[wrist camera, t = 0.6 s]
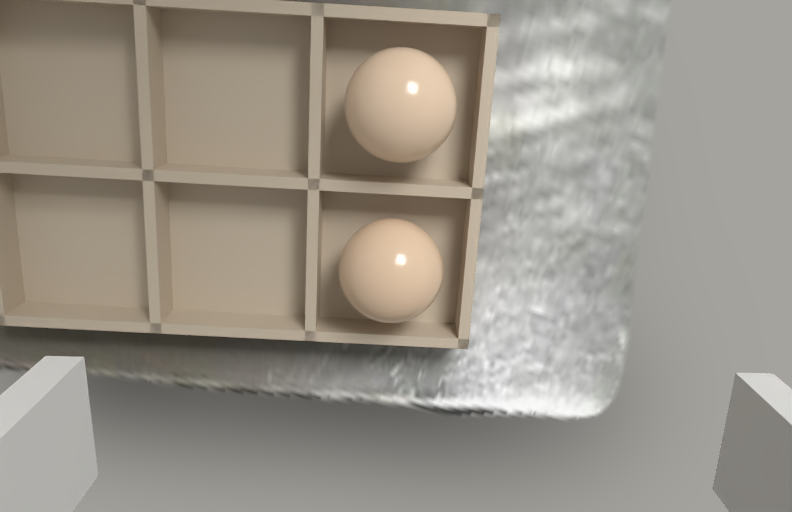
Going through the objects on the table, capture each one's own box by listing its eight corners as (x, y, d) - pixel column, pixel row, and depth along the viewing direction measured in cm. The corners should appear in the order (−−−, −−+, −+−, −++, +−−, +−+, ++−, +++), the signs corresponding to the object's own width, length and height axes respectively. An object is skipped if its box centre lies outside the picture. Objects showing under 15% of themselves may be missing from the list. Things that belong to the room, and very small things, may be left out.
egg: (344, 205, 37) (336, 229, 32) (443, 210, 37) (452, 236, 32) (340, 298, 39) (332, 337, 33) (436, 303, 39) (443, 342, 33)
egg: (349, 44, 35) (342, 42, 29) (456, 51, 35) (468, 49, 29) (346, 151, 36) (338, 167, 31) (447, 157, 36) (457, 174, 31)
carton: (-16, -14, 34) (-49, -20, 32) (492, 17, 35) (500, 14, 32) (20, 307, 39) (-6, 325, 37) (463, 330, 40) (468, 349, 37)
